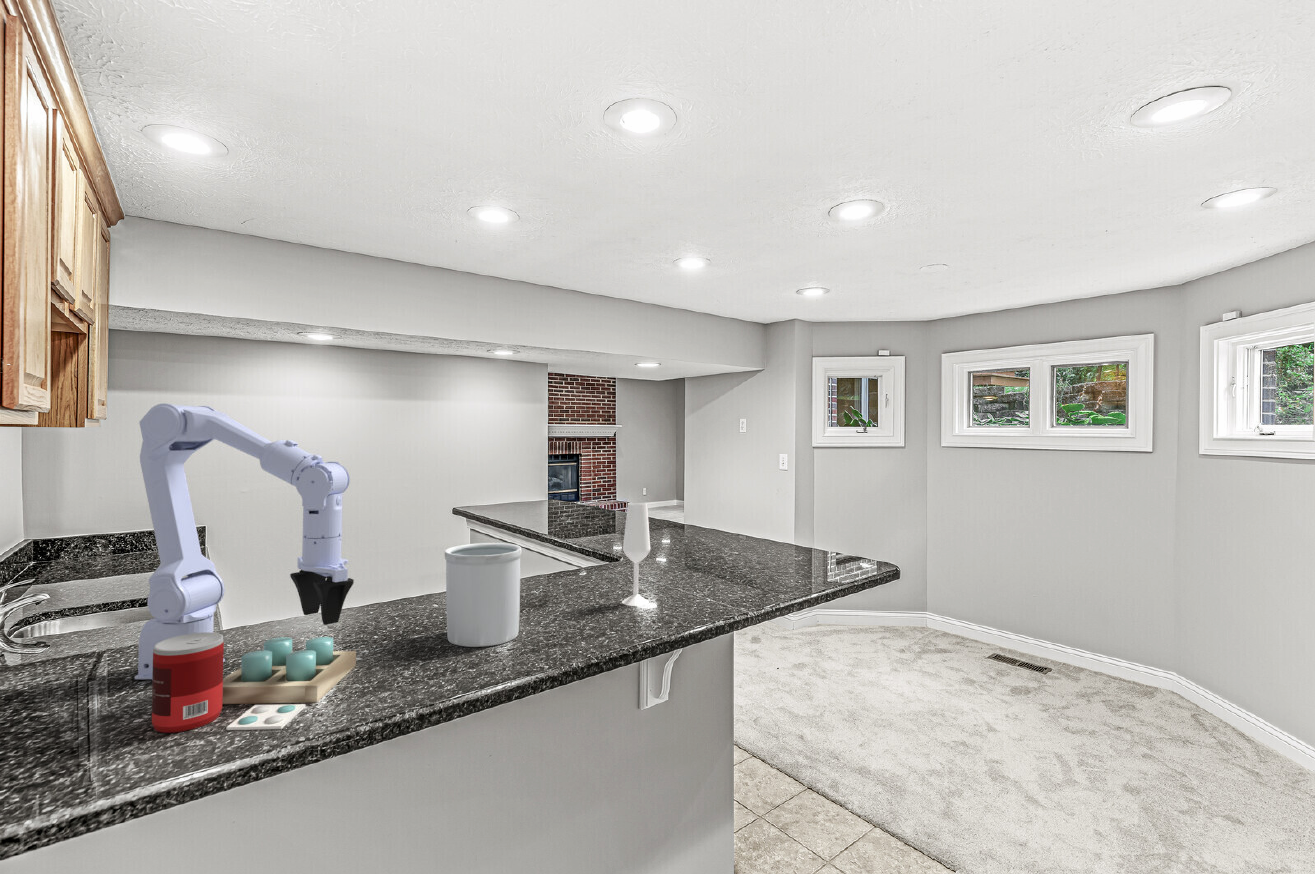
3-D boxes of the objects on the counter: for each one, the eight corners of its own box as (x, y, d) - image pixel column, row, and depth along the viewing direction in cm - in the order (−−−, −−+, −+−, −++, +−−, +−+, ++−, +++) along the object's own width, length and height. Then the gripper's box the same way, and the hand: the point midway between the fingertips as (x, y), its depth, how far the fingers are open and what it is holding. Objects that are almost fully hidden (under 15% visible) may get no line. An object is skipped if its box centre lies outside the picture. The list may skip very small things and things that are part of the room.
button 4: (300, 666, 102) (301, 644, 102) (312, 657, 106) (312, 636, 106) (326, 666, 102) (327, 644, 102) (337, 657, 106) (337, 636, 106)
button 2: (258, 666, 101) (258, 645, 101) (271, 658, 105) (271, 637, 105) (284, 666, 102) (285, 644, 102) (296, 657, 106) (296, 637, 106)
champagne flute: (633, 607, 149) (636, 505, 149) (616, 601, 154) (618, 503, 154) (655, 602, 154) (657, 504, 154) (637, 597, 159) (639, 501, 158)
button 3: (280, 682, 96) (281, 659, 96) (293, 672, 100) (293, 650, 100) (308, 681, 96) (308, 658, 96) (320, 671, 100) (320, 649, 100)
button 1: (235, 682, 95) (235, 659, 95) (249, 672, 99) (250, 650, 99) (263, 682, 95) (263, 659, 95) (276, 672, 99) (277, 650, 99)
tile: (226, 730, 85) (226, 725, 85) (254, 707, 92) (254, 703, 92) (281, 728, 85) (281, 724, 85) (305, 706, 92) (305, 702, 92)
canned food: (234, 708, 91) (236, 632, 91) (196, 734, 83) (197, 650, 83) (180, 707, 91) (181, 631, 91) (136, 733, 83) (138, 650, 83)
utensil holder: (426, 643, 121) (428, 551, 121) (471, 621, 135) (473, 540, 135) (494, 652, 117) (496, 557, 117) (533, 629, 131) (535, 544, 131)
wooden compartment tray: (209, 704, 93) (210, 687, 93) (264, 666, 107) (264, 651, 107) (317, 702, 94) (317, 685, 94) (355, 665, 109) (356, 650, 109)
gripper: (367, 538, 103) (365, 622, 103) (328, 528, 112) (326, 605, 112) (321, 543, 97) (320, 631, 97) (284, 532, 107) (283, 613, 107)
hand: (320, 618), depth 104 cm, fingers open, 7 cm apart
